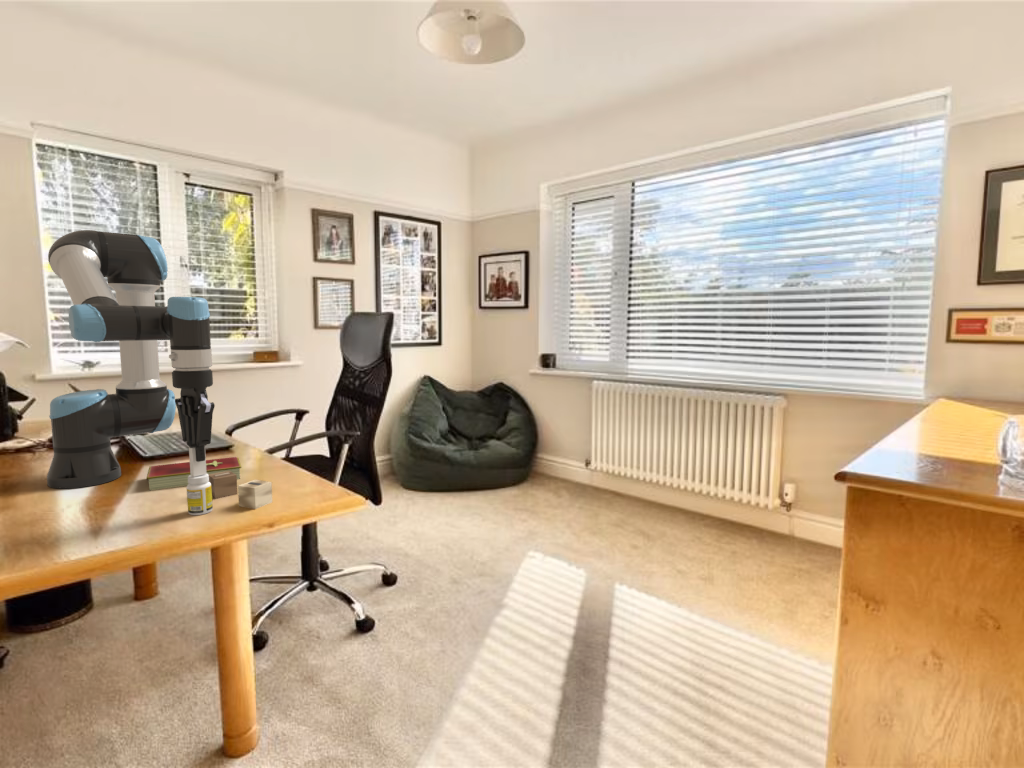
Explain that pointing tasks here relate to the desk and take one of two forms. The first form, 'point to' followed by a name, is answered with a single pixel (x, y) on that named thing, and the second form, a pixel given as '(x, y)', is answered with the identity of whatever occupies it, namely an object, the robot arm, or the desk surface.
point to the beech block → (255, 494)
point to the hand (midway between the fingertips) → (198, 474)
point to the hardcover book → (187, 472)
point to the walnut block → (223, 484)
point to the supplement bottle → (199, 495)
